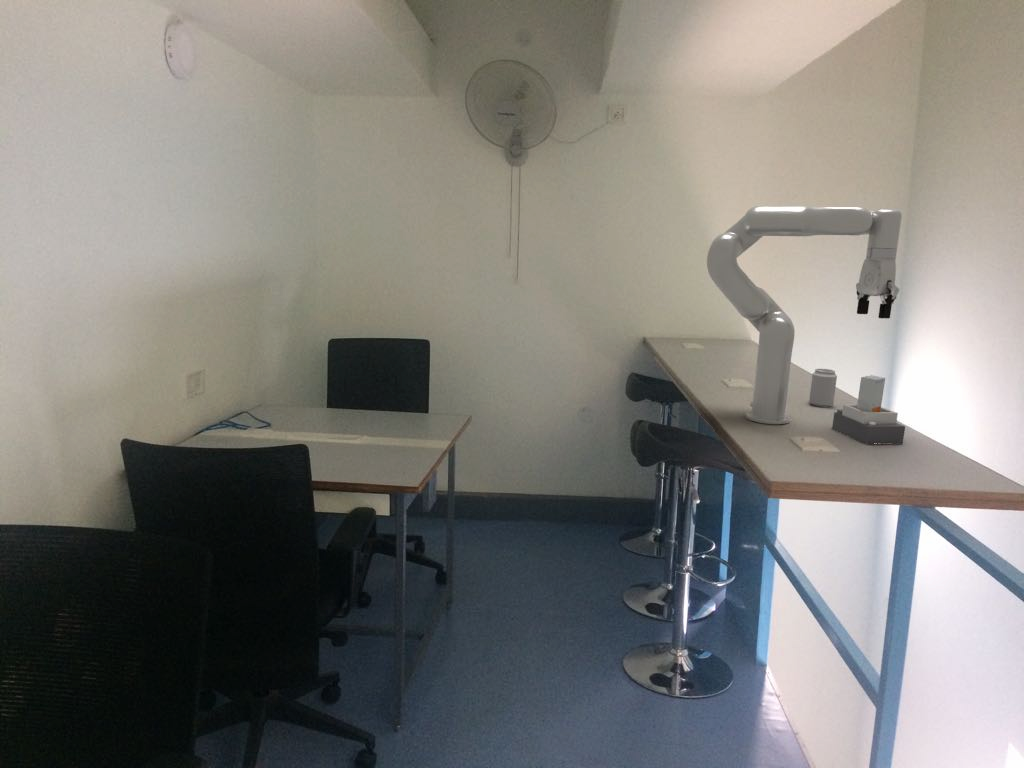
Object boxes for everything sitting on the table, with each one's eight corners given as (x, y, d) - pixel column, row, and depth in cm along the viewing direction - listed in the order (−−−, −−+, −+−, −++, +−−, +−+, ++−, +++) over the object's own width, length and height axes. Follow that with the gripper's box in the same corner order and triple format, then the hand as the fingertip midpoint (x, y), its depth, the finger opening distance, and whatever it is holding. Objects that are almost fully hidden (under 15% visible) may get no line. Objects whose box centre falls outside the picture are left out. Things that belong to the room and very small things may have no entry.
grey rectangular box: (832, 428, 219) (835, 401, 217) (866, 428, 221) (869, 401, 219) (866, 444, 203) (870, 415, 202) (902, 443, 205) (906, 414, 203)
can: (836, 408, 245) (841, 372, 243) (813, 407, 245) (818, 371, 243) (827, 403, 253) (832, 368, 250) (805, 402, 253) (809, 367, 250)
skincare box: (869, 421, 208) (875, 379, 205) (854, 418, 211) (860, 376, 208) (880, 419, 211) (886, 377, 209) (865, 415, 215) (870, 374, 212)
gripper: (850, 253, 216) (842, 312, 220) (889, 255, 200) (880, 319, 203) (873, 254, 218) (865, 312, 221) (914, 256, 201) (905, 320, 204)
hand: (872, 316), depth 212 cm, fingers open, 9 cm apart
